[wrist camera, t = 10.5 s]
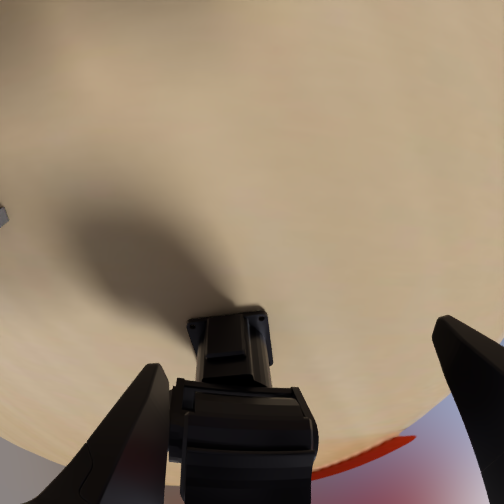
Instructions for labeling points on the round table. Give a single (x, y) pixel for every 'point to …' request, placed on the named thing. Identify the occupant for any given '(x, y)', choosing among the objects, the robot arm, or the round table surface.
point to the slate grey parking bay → (3, 217)
